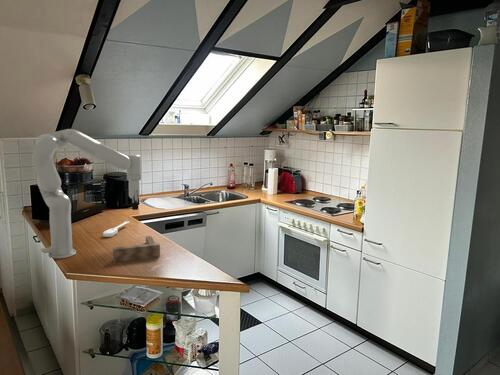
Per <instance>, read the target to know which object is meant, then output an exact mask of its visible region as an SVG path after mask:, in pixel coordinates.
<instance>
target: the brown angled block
mask: <svg viewBox="0 0 500 375" xmlns="http://www.w3.org/2000/svg"><path fill="white" fill-rule="evenodd" d="M112 256H113V257H112V258H113V259H112V260H113V263H119V262H121V263H122V262H128V261H135V260H146V259H154V258H160V257H161V246H160V243H159V242H156V241H155V240H154V238H153V236H151V235H146V236H145V244H137V245H135V244H134V245H127V246H117V247H112Z"/></svg>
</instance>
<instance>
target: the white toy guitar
mask: <svg viewBox="0 0 500 375" xmlns="http://www.w3.org/2000/svg"><path fill="white" fill-rule="evenodd" d="M129 223H130V221H127V220H126V221H124V222H122V223H121V224H119V225H118V226H115V227H112V228H108V229H107V230H104V231H103V232H102V235H103V237H104V238H111V237H113V236H115V235H117V234H118V231H119V230H118V229H119V228H121V227H122V226H124V225H127V224H129Z"/></svg>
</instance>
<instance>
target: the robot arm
mask: <svg viewBox="0 0 500 375" xmlns="http://www.w3.org/2000/svg"><path fill="white" fill-rule="evenodd" d="M66 147H71V148H72V149H75V150H76V151H78V152H81V153H83V154H84V155H87V156H89V157H91V158H93V159H97V160H99V161H102V162H104V163H107V164H109V165H111V167H113V168H114V169H116V170H117V169H118V170H121V171H126V180H127V181H128V197H129V198H130V199H131V210H132V211H137V210H139V198H140V196H141V194H140V181H142V165H141V164H142V161H141V159H142V158H141V155H140V154H137V153H136V154H135V153H134V154H123V153H121V152H120V151H117V150H115V149H114V148H111V147H110V146H107V145H106V144H104V143H102V142H100V141H99V140H96V139H94V138H92V137H90V136H89V135H88V134H85V133H83V132H81V131H79V130H77V129H73V128H72V129H71V128H66V129H61V130H58V131H54V132H48V133H43V134H41V135H38V136H37V138H36V140H35V146H34V149H33V150H32V155H31V160H32V165H33V167H34V170H35V172H36V175H37V177H36V184H37V186H38V189H39V192H40V194H41V196H42V199H43V201H44V203H45V204H46V206H47V207H48V209H49V231H50V244H51V245H50V246H49V247H44V248H42V247H41V253H43V254H48V257H49V258H51V259H55V260H57V259H58V260H59V259H65V258H70V257H72V256H75V255H76V253H77V250H76V249H75V248H73V234H72V230H73V229H72V214H71V213H72V203H71V199H70V197H69V196H68V195H67V194H65V193H64V191H63V189H62V187H61V186H62V179H61V177H60V174H59V172H58V170H57V168H56V166H55V163H54V154H55V152H56V151H57V150H58V149H63V148H66Z"/></svg>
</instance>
